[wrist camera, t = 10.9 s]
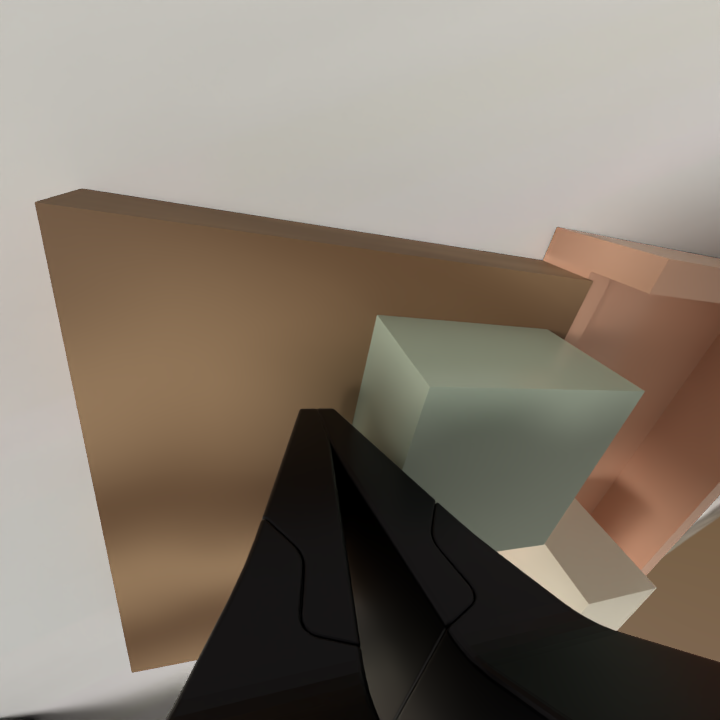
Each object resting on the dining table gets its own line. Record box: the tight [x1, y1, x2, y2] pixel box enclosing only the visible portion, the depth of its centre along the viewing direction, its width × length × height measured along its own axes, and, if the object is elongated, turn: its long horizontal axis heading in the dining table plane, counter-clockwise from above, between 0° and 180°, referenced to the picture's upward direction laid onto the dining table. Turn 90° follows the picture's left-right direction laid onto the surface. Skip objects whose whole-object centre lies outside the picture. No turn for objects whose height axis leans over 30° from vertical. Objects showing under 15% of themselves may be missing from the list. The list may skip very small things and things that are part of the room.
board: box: [35, 189, 593, 673], centre depth 12 cm, size 16×12×2 cm
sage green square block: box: [352, 315, 645, 551], centre depth 9 cm, size 5×5×3 cm
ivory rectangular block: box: [497, 498, 656, 631], centre depth 15 cm, size 5×5×3 cm
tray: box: [543, 227, 720, 576], centre depth 15 cm, size 18×10×4 cm, turn 169°
